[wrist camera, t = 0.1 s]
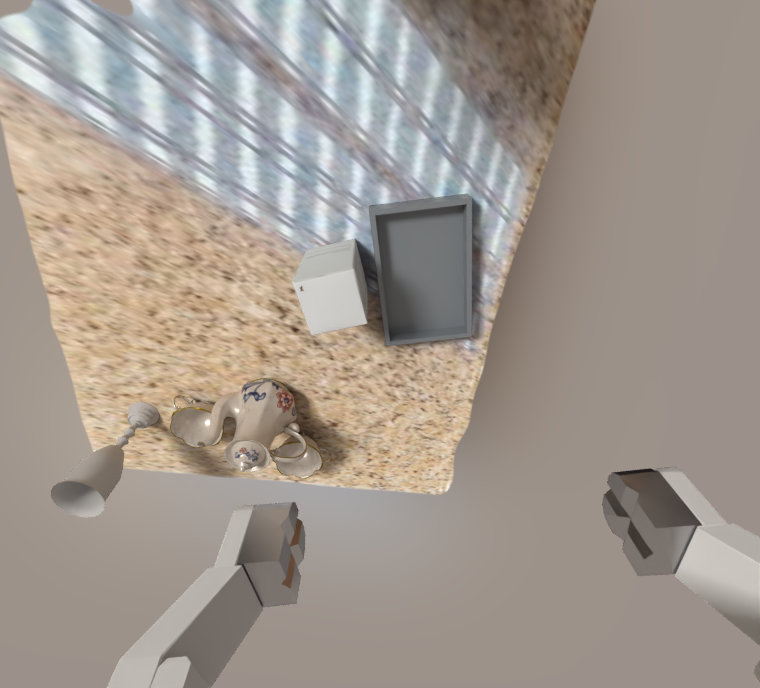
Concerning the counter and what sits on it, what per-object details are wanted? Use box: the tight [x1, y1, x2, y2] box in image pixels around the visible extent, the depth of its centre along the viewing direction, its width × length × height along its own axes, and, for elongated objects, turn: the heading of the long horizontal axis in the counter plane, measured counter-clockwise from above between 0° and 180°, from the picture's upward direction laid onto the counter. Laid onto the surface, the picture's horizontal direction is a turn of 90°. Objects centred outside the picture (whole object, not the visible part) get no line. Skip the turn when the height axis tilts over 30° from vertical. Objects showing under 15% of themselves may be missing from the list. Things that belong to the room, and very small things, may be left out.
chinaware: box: [170, 378, 331, 478], centre depth 63 cm, size 28×17×17 cm, turn 69°
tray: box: [369, 194, 472, 346], centre depth 56 cm, size 20×13×3 cm, turn 7°
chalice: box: [51, 402, 159, 517], centre depth 62 cm, size 7×7×18 cm
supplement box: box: [292, 239, 368, 335], centre depth 52 cm, size 7×7×13 cm
